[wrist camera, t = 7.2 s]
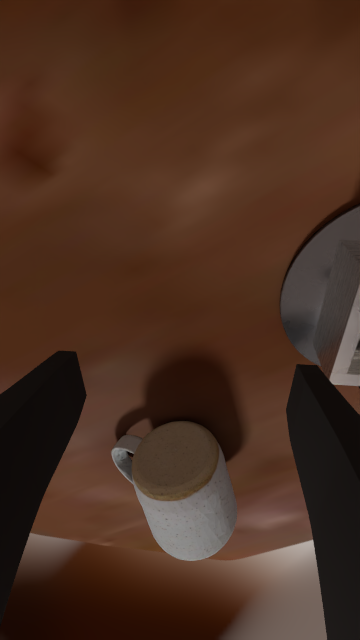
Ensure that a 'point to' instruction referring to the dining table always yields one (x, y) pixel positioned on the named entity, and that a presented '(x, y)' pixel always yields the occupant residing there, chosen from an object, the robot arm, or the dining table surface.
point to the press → (327, 299)
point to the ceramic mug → (181, 487)
